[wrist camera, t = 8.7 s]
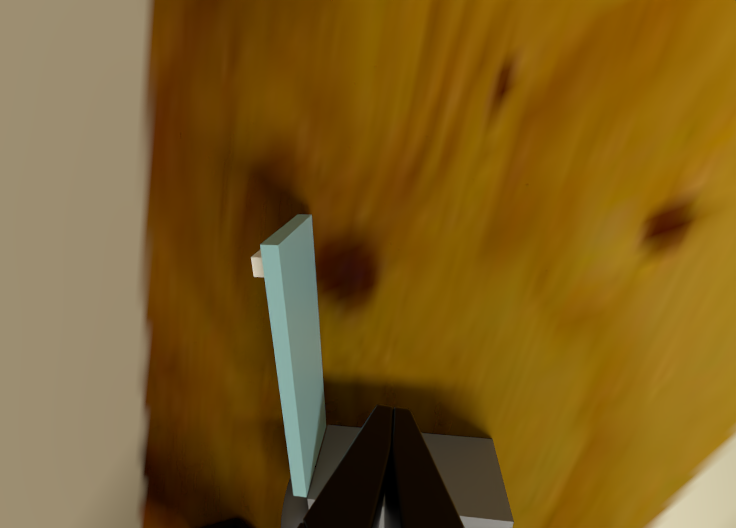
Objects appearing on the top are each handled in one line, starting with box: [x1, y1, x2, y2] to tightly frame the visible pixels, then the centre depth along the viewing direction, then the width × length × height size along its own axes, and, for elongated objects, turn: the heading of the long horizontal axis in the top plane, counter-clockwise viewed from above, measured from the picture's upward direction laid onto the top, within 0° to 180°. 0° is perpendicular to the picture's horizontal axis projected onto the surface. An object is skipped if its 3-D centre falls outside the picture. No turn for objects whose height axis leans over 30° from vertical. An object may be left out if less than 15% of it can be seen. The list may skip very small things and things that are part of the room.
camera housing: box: [281, 425, 514, 528], centre depth 24 cm, size 14×10×6 cm
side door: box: [251, 214, 326, 497], centre depth 20 cm, size 16×2×5 cm, turn 0°
